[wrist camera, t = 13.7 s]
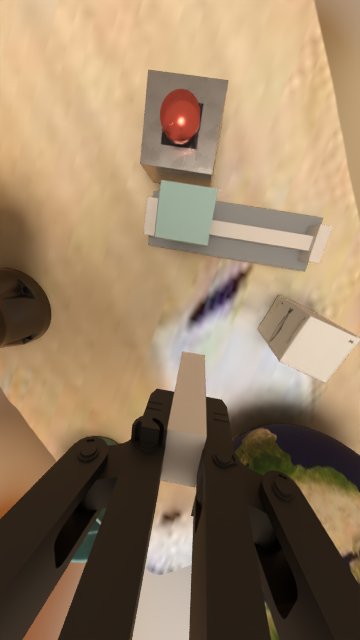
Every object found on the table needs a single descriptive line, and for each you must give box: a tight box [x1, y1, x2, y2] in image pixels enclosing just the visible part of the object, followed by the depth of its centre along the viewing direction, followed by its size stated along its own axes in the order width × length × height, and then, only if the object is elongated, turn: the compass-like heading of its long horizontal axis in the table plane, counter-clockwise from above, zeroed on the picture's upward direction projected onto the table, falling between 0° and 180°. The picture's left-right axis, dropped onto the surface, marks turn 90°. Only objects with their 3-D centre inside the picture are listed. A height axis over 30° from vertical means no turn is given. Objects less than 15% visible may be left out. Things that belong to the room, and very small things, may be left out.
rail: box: [144, 191, 333, 271], centre depth 33 cm, size 26×8×5 cm, turn 81°
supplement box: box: [258, 295, 360, 383], centre depth 33 cm, size 7×7×13 cm
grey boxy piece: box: [140, 70, 228, 187], centre depth 29 cm, size 9×9×8 cm
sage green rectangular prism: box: [155, 180, 218, 246], centre depth 29 cm, size 6×6×12 cm
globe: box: [232, 424, 360, 640], centre depth 34 cm, size 30×30×30 cm
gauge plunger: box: [160, 89, 200, 149], centre depth 27 cm, size 4×4×7 cm
